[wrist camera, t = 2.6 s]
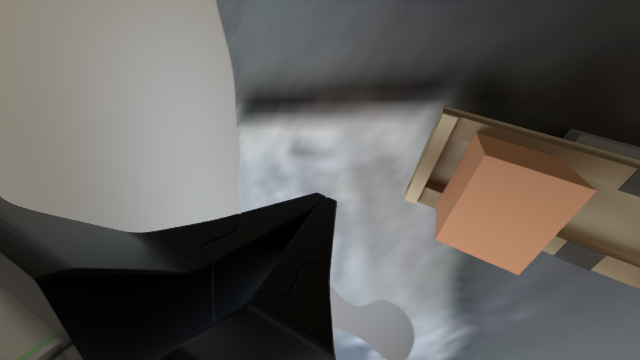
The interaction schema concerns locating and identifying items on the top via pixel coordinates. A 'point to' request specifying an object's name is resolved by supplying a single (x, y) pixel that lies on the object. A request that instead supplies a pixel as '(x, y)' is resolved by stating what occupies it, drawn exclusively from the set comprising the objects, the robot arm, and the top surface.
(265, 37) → the top surface
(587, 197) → the block
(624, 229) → the wooden tray
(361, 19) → the top surface
